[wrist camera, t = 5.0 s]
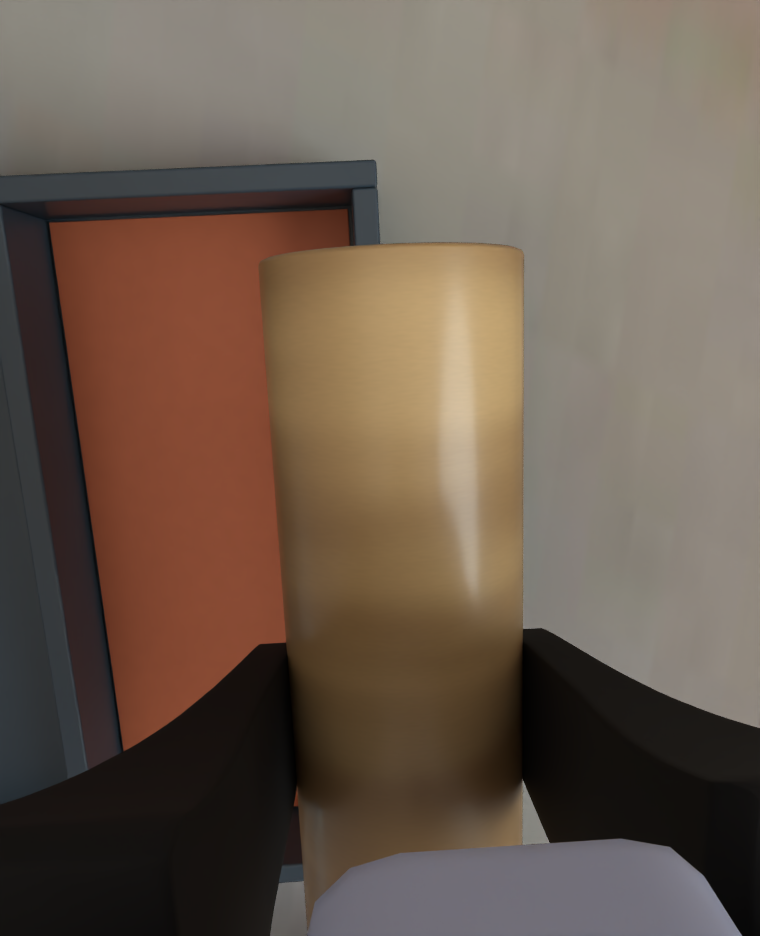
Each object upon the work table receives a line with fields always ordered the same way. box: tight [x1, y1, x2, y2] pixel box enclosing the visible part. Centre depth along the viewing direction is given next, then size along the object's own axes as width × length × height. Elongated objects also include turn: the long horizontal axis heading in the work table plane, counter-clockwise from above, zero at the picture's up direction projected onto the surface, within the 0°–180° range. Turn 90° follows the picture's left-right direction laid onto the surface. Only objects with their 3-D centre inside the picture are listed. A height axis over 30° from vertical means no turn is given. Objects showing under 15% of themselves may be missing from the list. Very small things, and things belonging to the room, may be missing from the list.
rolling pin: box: [258, 242, 524, 930], centre depth 12 cm, size 15×4×4 cm, turn 2°
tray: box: [0, 160, 380, 883], centre depth 19 cm, size 19×18×3 cm
